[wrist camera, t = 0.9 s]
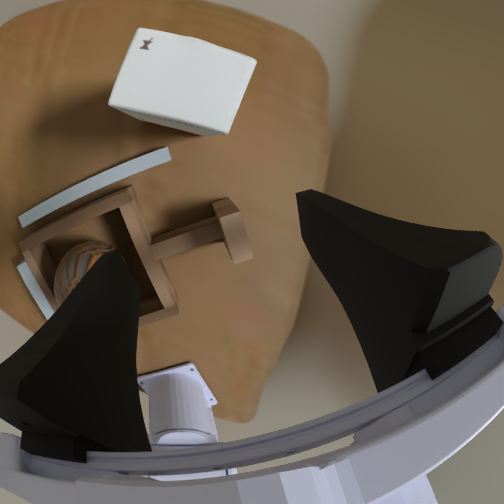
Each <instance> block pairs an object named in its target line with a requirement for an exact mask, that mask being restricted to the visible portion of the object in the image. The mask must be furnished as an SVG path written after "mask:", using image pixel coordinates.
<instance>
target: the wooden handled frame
mask: <svg viewBox="0 0 504 504" xmlns="http://www.w3.org/2000/svg"><path fill="white" fill-rule="evenodd" d="M212 206H213V209H214V212H215V216H213V217H210V218H207V219H204V220H201V221H198V222H195V223H192V224H189V225H186V226H184V227H181V228H178V229H175V230H172V231H170V232H167V233H164V234H161V235H159V236H156V237H153V238H152V236H151V234H150V231H149V229H148V226H147V224H146V221H145V218H144V216H143V213H142V211H141V208H140V205H139V203H138V200H137V197H136V194H135V192H134V189H133V186H132V185H130V186H128V187H125V188H123V189H121V190H118V191H116V192H113V193H111V194H109V195H106V196H104V197H102V198H100V199H97V200H95V201H93V202H91V203H89V204H86V205H84V206H82V207H80V208H78V209H76V210H74V211H72V212H70V213H67V214H65V215H63V216H61V217H59V218H57V219H56V220H54V221H52V222H50V223H48V224H46V225H44V226H42V227H40V228H38V229H37V230H35V231H33V232H31V233H30V234H29V235H27V236H26V237H25V238H24V239H23V240H21V241H20V242H19V243H18V245H19V247H20V249H21V251H22V253H23V255H24V257H25V260H26V262H27V264H28V266H29V268H30V269H31V271H32V273H33V275H34V277H35V279H36V281H37V283H38V284H39V286H40V288H41V290H42V291H43V293H44V295H45V297H46V298H47V300H48V302H49V303H50V305H51V306H52V308H53V310H54V311H56V310H57V309H58V308H59V306H58V304H57V301H56V298H55V294H54V278H55V273H56V270H57V268H56V266H55V264H54V262H53V260H52V258H51V256H50V254H49V252H48V250H47V248H46V246H45V244H44V241H46V240H48V239H50V238H52V237H54V236H56V235H58V234H60V233H62V232H64V231H67V230H69V229H71V228H73V227H75V226H77V225H79V224H82V223H84V222H86V221H88V220H90V219H93V218H95V217H97V216H99V215H102V214H104V213H106V212H109V211H111V210H114V209H116V208H118V207H119V208H120V211H121V213H122V216H123V218H124V221H125V223H126V226H127V228H128V231H129V233H130V235H131V238H132V240H133V243H134V245H135V247H136V249H137V252H138V254H139V256H140V258H141V261H142V263H143V265H144V267H145V269H146V272H147V274H148V276H149V278H150V280H151V282H152V284H153V286H154V288H155V290H156V292H157V294H158V295H155V296H152V297H149V298H146V299H143V300H140V312H139V324H138V327H139V326H142V325H146V324H149V323H152V322H155V321H158V320H161V319H164V318H167V317H170V316H173V315H176V314H179V307H178V296H177V294H176V291H175V289H174V287H173V285H172V283H171V281H170V278H169V276H168V274H167V272H166V269H165V267H164V265H163V262H162V260H161V259H163V258H166V257H169V256H172V255H175V254H177V253H180V252H183V251H186V250H189V249H192V248H195V247H197V246H200V245H203V244H206V243H209V242H212V241H215V240H218V239H221V238H223V241H224V243H225V246H226V248H227V250H228V252H229V254H230V257H231V259H232V261H233V263H234V264H237V263H240V262H243V261H246V260H249V259H251V258H253V255H252V252H251V248H250V244H249V241H248V237H247V234H246V230H245V227H244V223H243V219H242V216H241V212H240V210H239V209H238V208H237V207H236V206H235V204H234V203H233V202H232V201H231V200H230V199H229V197H228V198H225V199H222V200H219V201H216V202H213V203H212Z"/></svg>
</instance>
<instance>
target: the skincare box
mask: <svg viewBox="0 0 504 504" xmlns="http://www.w3.org/2000/svg"><path fill="white" fill-rule="evenodd" d="M256 63H257V61H256V60H255V59H254V58H251V57H249V56H246V55H243V54H241V53H238V52H235V51H232V50H229V49H226V48H223V47H220V46H217V45H214V44H211V43H209V42H206V41H204V40H200V39H197V38H193V37H186V36H181V35H177V34H173V33H167V32H162V31H157V30H152V29H146V28H138V29H137V30H136V32H135V34H134V37H133V39H132V41H131V43H130V46H129V48H128V50H127V53H126V55H125V57H124V60H123V62H122V65H121V67H120V70H119V73H118V75H117V78H116V81H115V83H114V86H113V89H112V92H111V95H110V98H109V101H108V105H109V106H111V107H113V108H115V109H117V110H120V111H122V112H124V113H126V114H128V115H130V116H132V117H135V118H136V119H138V120H140V121H145V122H150V123H154V124H158V125H162V126H166V127H170V128H174V129H178V130H182V131H186V132H190V133H193V134H197V135H200V136H212V135H224V134H228V133H229V130H230V128H231V125H232V123H233V120H234V117H235V115H236V112H237V110H238V107H239V105H240V102H241V100H242V97H243V95H244V93H245V90H246V88H247V85H248V83H249V80H250V78H251V75H252V73H253V71H254V68H255V66H256Z"/></svg>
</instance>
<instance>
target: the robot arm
mask: <svg viewBox="0 0 504 504" xmlns="http://www.w3.org/2000/svg"><path fill="white" fill-rule="evenodd" d="M296 198H297V205H298V213H299V220H300V228H301V236H302V239H303V241H304V243H305V245H306V247H307V249H308V251H309V253H310V255H311V257H312V259H313V260H314V262H315V263H316V265H317V266H318V268H319V269H320V271H321V272H322V274H323V275H324V277H325V278H326V280H327V281H328V283H329V284H330V286H331V287H332V289H333V291H334V292H335V294H336V295H337V297H338V298H339V300H340V302H341V304H342V305H343V307H344V310H345V311H346V314H347V316H348V318H349V320H350V322H351V324H352V326H353V329H354V331H355V333H356V336H357V338H358V340H359V342H360V345H361V347H362V350H363V352H364V355H365V358H366V360H367V363H368V366H369V368H370V371H371V374H372V377H373V380H374V383H375V386H376V389H377V392H378V394H375V395H373V396H371V397H369V398H367V399H364V400H362V401H360V402H358V403H355V404H353V405H350V406H348V407H346V408H343V409H341V410H338V411H336V412H333V413H330V414H327V415H325V416H322V417H319V418H316V419H314V420H310V421H307V422H304V423H301V424H298V425H295V426H292V427H288V428H285V429H281V430H278V431H274V432H270V433H266V434H262V435H259V436H255V437H250V438H246V439H241V440H236V441H231V442H226V443H224V442H218V435H217V431H216V426H215V422H214V417H213V412H212V408H211V406H212V405H216V404H217V400H216V399H215V397H214V396H213V394H212V392H211V391H210V389H209V388H208V386H207V385H206V383H205V382H204V380H203V378H202V377H201V375H200V374H199V372H198V370H197V369H196V367H195V365H194V364H193V363H186V364H182V365H179V366H176V367H172V368H169V369H165V370H161V371H158V372H154V373H150V374H146V375H143V376H139V377H137V369H136V349H137V336H138V324H139V312H140V293H139V284H138V283H137V281H136V280H135V278H134V276H133V275H132V273H131V271H130V270H129V268H128V266H127V265H126V263H125V261H124V260H123V258H122V256H121V254H120V253H119V251H118V249H114V250H111V251H108V252H106V253H104V254H103V255H102V256H101V257H100V258H99V259H98V260H97V261H96V262H95V263H94V264H93V265H92V267H91V268H90V269H89V270H88V272H87V273H86V274H85V275H84V277H83V278H82V279H81V280H80V282H79V283H78V284H77V285H76V287H75V288H74V289H73V290H72V292H71V293H70V294H69V295H68V297H67V298H66V299H65V300H64V302H63V303H62V304H61V305H60V307H59V308H58V309H57V310H56V311H55V313H54V314H53V315H52V316H51V317H50V318H49V319H48V320H47V322H46V323H45V324H44V325H43V326H42V327H41V328H40V329H39V330H38V331H37V332H36V333H35V334H34V335H33V336H32V337H31V338H30V339H29V340H28V341H27V342H26V343H25V344H24V345H23V346H21V347H20V348H19V349H18V350H17V351H16V352H15V353H14V354H12V355H11V356H10V357H9V358H8V359H6V360H5V361H4V362H2V363H1V364H0V418H2V419H3V420H5V421H6V422H8V423H9V424H11V425H12V426H14V427H16V428H17V429H19V430H21V431H22V437H19V436H16V435H13V434H8V433H3V432H2V433H1V434H0V487H1V488H3V489H5V490H7V491H8V492H10V493H13V494H14V495H16V496H19V497H20V498H22V499H24V500H26V501H28V502H30V503H32V504H438V503H437V501H436V498H435V495H434V493H433V491H432V488H431V486H430V483H429V481H428V478H427V476H426V474H427V473H428V472H430V471H431V470H433V469H434V468H435V467H437V466H438V465H440V464H441V463H442V462H444V461H445V460H446V459H448V458H449V457H450V456H452V455H453V454H454V453H455V452H457V451H458V450H459V449H460V448H462V447H463V446H464V445H465V444H466V443H468V442H469V441H470V440H471V439H472V438H473V437H475V436H476V435H477V434H478V433H479V432H480V431H481V430H482V429H483V428H484V427H485V426H486V425H487V424H488V423H490V422H491V420H493V419H494V418H495V417H496V416H497V414H499V412H500V411H501V410H502V409H503V408H504V304H503V305H502V306H501V307H500V308H499V309H498V310H497V312H495V311H494V310H493V309H492V307H491V306H492V305H493V302H494V301H493V299H492V298H491V297H490V295H489V294H488V293H489V291H490V288H491V287H492V284H493V282H494V280H495V278H496V276H497V274H498V271H499V268H500V266H501V262H502V248H501V247H500V245H499V244H497V243H496V242H495V241H494V240H493V239H492V238H491V237H490V236H489V235H487V234H486V233H485V232H481V231H464V230H452V229H444V228H436V227H430V226H424V225H419V224H415V223H409V222H405V221H401V220H397V219H394V218H390V217H387V216H383V215H380V214H376V213H373V212H371V211H368V210H365V209H362V208H359V207H356V206H354V205H351V204H349V203H346V202H344V201H341V200H339V199H336V198H333V197H331V196H329V195H326V194H324V193H321V192H318V191H315V190H312V189H310V190H306V191H302V192H298V193H296ZM191 368H193V369H191ZM138 384H139V385H140V386H141V387H142V388H143V390H144V391H145V392H146V393H147V394H148V395H149V429H150V435H147V431H146V428H145V423H144V419H143V414H142V409H141V404H140V397H139V390H138ZM356 432H357V433H356ZM353 433H355V435H354V436H353V438H354V440H355V441H354V442H353V443H352V444H351V445H350V446H347V447H344V448H341V449H338V450H335V451H332V452H329V453H326V454H323V455H319V456H316V457H312V458H308V459H305V460H301V461H297V462H293V463H289V464H285V465H281V466H276V467H271V468H266V469H261V470H256V471H251V472H245V473H239V474H237V469H236V468H238V467H242V466H248V465H253V464H257V463H262V462H266V461H271V460H275V459H278V458H282V457H286V456H290V455H293V454H297V453H300V452H303V451H306V450H310V449H312V448H316V447H319V446H321V445H324V444H327V443H330V442H333V441H335V440H338V439H341V438H343V437H346V436H348V435H351V434H353Z"/></svg>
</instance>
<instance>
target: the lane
mask: <svg viewBox="0 0 504 504" xmlns="http://www.w3.org/2000/svg"><path fill="white" fill-rule="evenodd" d="M170 160H171V156H170V153H169V150H168V146H167V147H165V148H162V149H159V150H156V151H153V152H151V153H148V154H145V155H143V156H140V157H138V158H135V159H133V160H130V161H128V162H125V163H123V164H120V165H118V166H116V167H113V168H111V169H109V170H106V171H104V172H102V173H100V174H97V175H95V176H93V177H91V178H89V179H87V180H85V181H83V182H81V183H78V184H76V185H74V186H72V187H70V188H68V189H67V190H65V191H63V192H61V193H59V194H57V195H55V196H53V197H51V198H50V199H48V200H46V201H44V202H42V203H41V204H39V205H37V206H35V207H34V208H32V209H30V210H29V211H27V212H25V213H24V214H22V215H20V216H19V217H18V218H19V221H20V223H21V226H22V228H24V227H25V226H27V225H29V224H31V223H32V222H34V221H36V220H38V219H40V218H41V217H43V216H45V215H47V214H49V213H51V212H53V211H54V210H56V209H58V208H60V207H62V206H64V205H66V204H68V203H70V202H72V201H74V200H76V199H78V198H80V197H82V196H85V195H87V194H89V193H91V192H93V191H95V190H98V189H100V188H102V187H104V186H107V185H109V184H111V183H114V182H116V181H118V180H121V179H123V178H126V177H128V176H130V175H133V174H135V173H138V172H141V171H143V170H146V169H148V168H151V167H154V166H156V165H159V164H162V163H165V162H167V161H170ZM17 269H18V271H19V273H20V275H21V277H22V278H23V280H24V282H25V284H26V286H27V287H28V289H29V291H30V293H31V294H32V296H33V298H34V300H35V301H36V303H37V304H38V306H39V308H40V309H41V311H42V312H43V314H44V316H45V317H46V319H47V320H48V319H49V318H50V317H51V316H52V315H53V314H54V313H55V311H54V310H53V308H52V306H51V305H50V303H49V302H48V300H47V298H46V297H45V295H44V293H43V291H42V290H41V288H40V286H39V284H38V283H37V281H36V279H35V277H34V275H33V273H32V271H31V269H30V268H29V266H28V264H27V262H26V260H25V259H24V260H23V261H22V262H21V263H20V264H19V265H18V266H17Z"/></svg>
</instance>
